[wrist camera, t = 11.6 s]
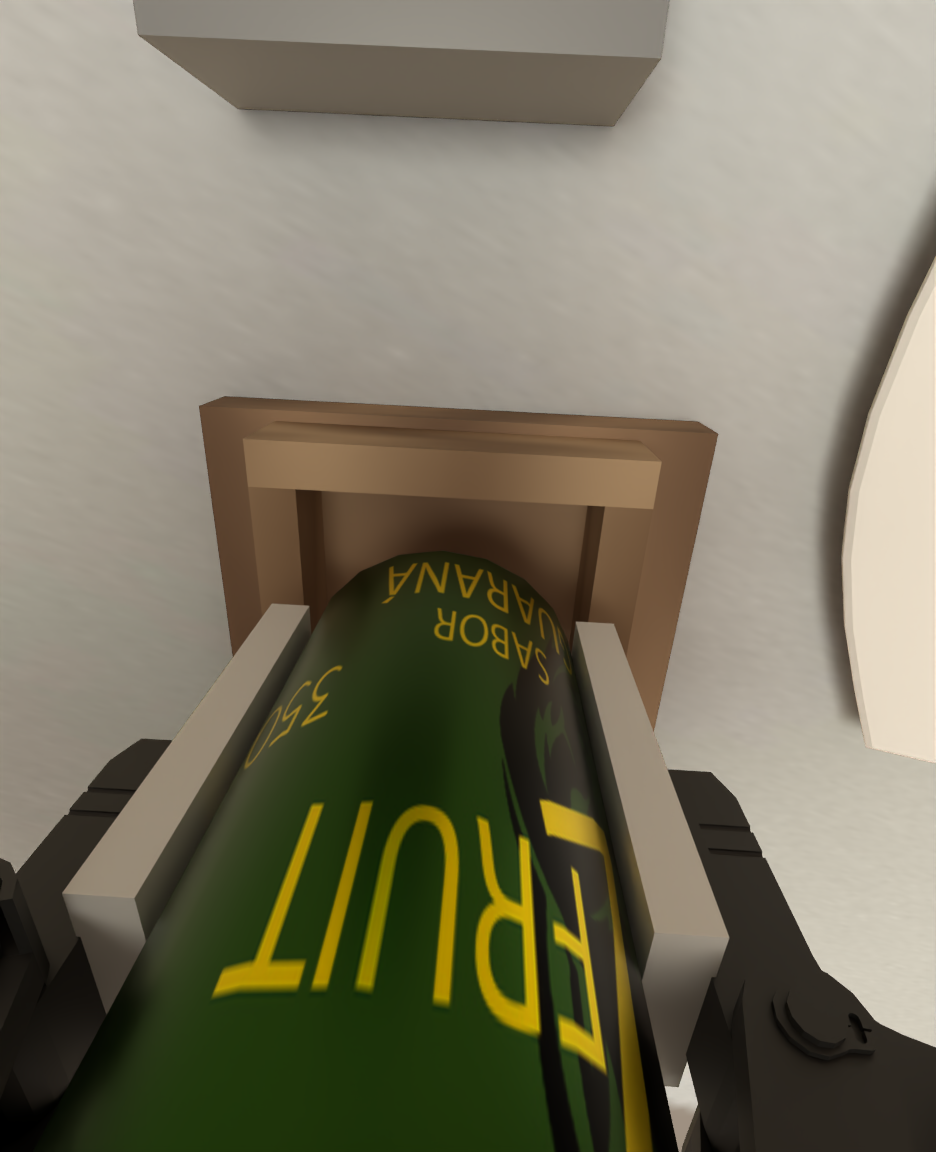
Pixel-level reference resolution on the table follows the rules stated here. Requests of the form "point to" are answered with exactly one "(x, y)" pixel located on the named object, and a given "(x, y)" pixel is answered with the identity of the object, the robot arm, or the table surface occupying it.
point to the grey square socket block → (417, 55)
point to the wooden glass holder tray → (460, 508)
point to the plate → (896, 547)
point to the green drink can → (394, 910)
